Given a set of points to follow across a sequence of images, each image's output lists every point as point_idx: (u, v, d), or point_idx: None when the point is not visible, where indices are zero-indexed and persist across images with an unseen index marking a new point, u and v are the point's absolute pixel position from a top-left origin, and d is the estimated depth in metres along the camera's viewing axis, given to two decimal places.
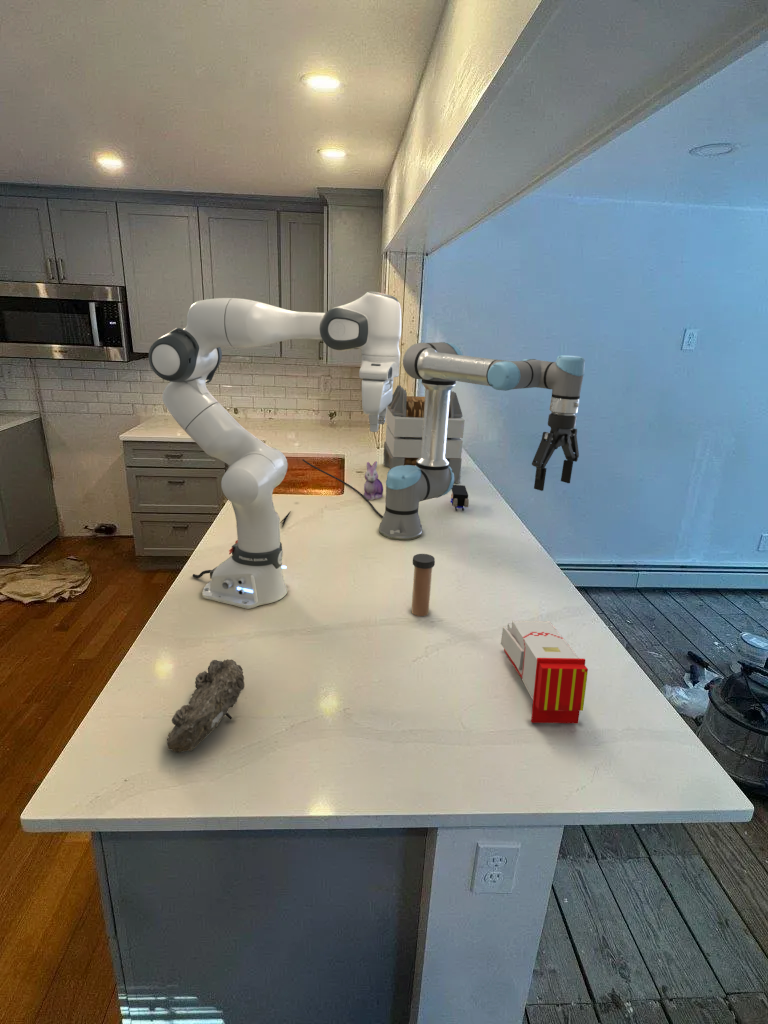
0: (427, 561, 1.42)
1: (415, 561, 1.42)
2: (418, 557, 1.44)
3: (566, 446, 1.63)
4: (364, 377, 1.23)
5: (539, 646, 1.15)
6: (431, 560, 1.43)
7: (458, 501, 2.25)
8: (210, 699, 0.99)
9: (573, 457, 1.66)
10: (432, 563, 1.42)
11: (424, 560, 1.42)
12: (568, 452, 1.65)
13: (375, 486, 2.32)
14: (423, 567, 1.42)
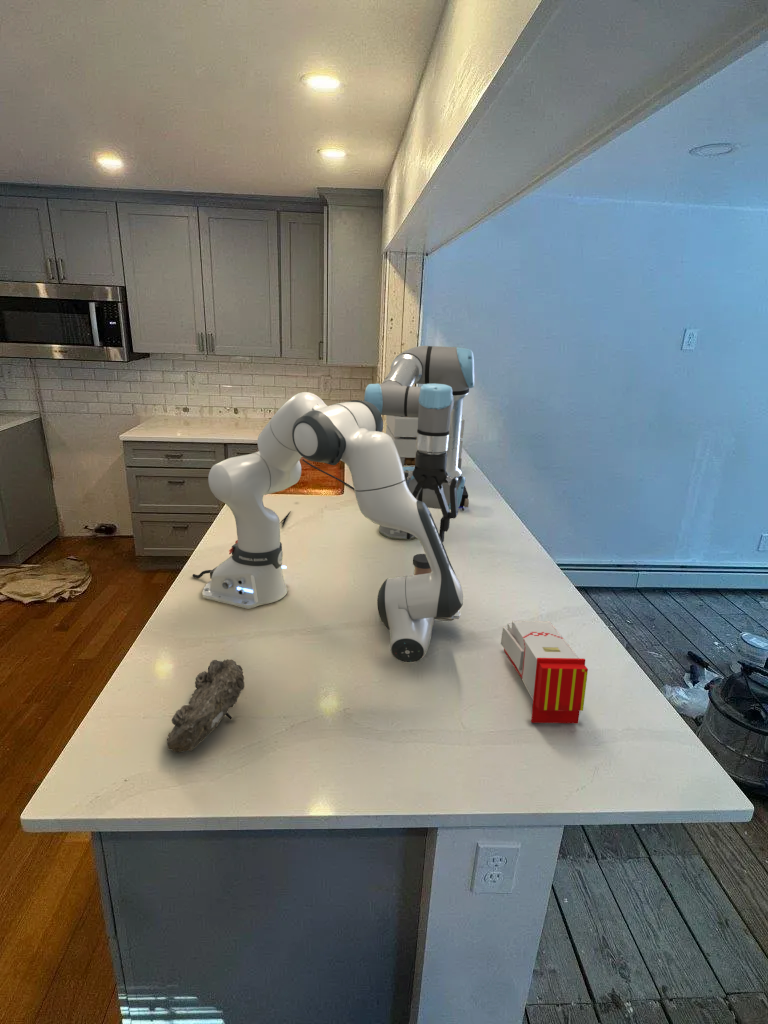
0: (427, 561, 1.42)
1: (415, 561, 1.42)
2: (418, 557, 1.44)
3: (420, 490, 1.39)
4: None
5: (539, 646, 1.15)
6: None
7: None
8: (210, 699, 0.99)
9: None
10: None
11: (424, 560, 1.42)
12: None
13: None
14: (423, 567, 1.42)
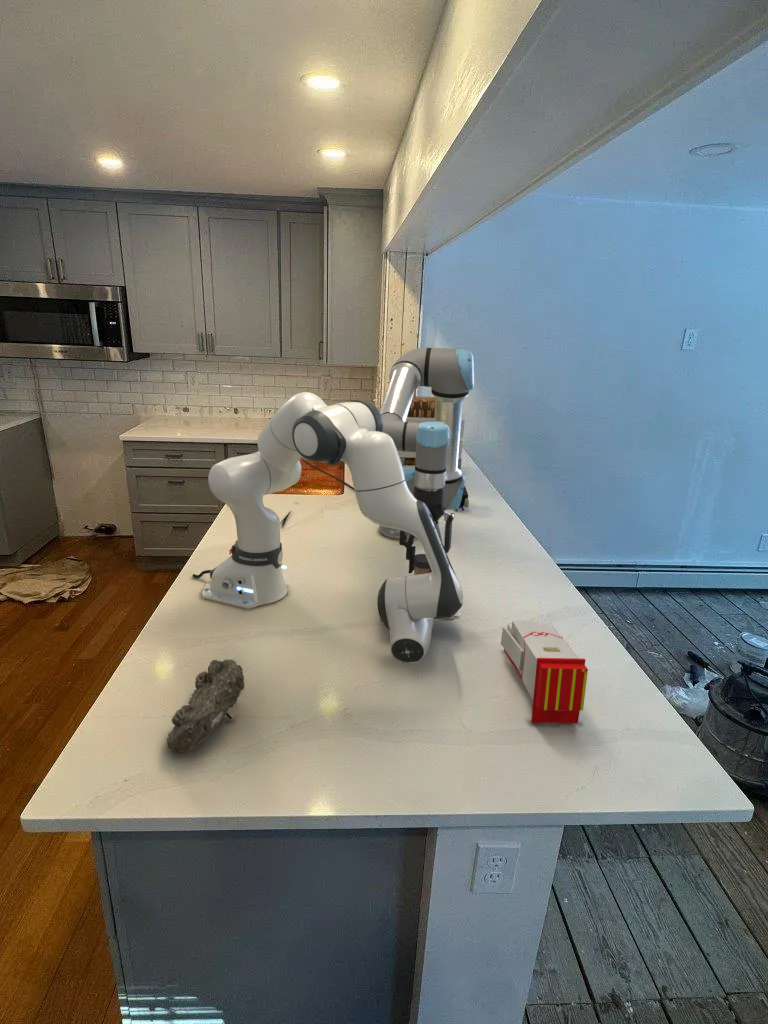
0: (427, 561, 1.42)
1: (415, 561, 1.42)
2: (418, 557, 1.44)
3: None
4: None
5: (539, 646, 1.15)
6: None
7: None
8: (210, 699, 0.99)
9: None
10: None
11: (424, 560, 1.42)
12: None
13: None
14: (423, 567, 1.42)
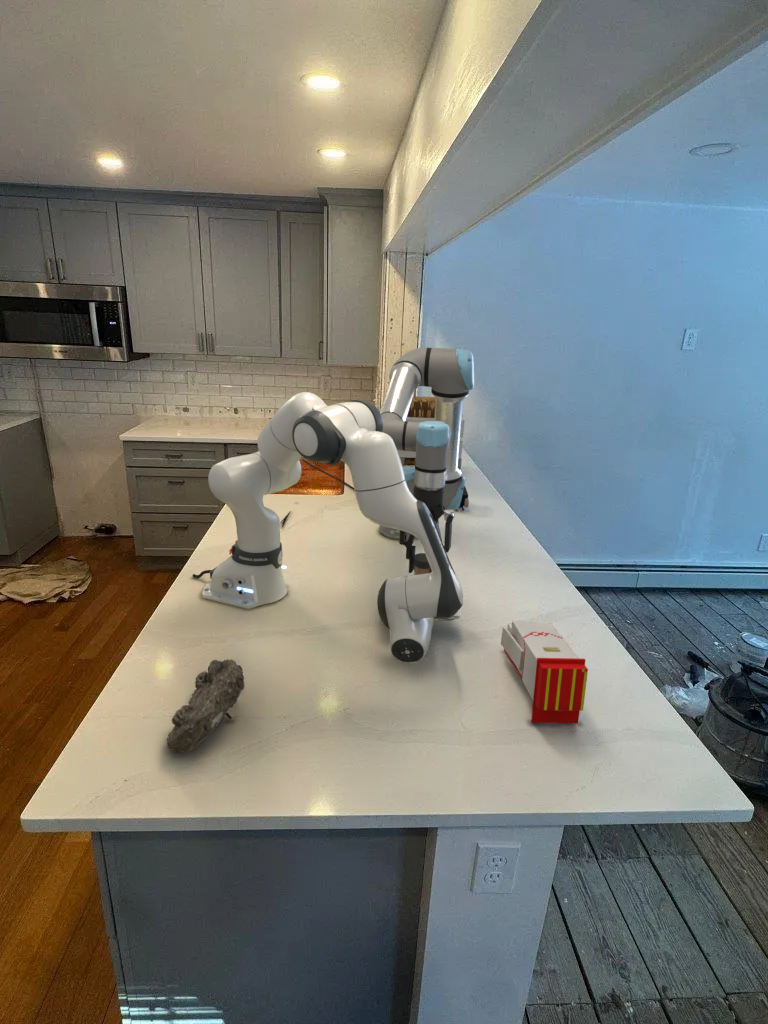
0: None
1: None
2: (426, 559, 1.43)
3: None
4: None
5: (539, 646, 1.15)
6: (424, 553, 1.46)
7: None
8: (210, 699, 0.99)
9: None
10: None
11: None
12: None
13: None
14: None
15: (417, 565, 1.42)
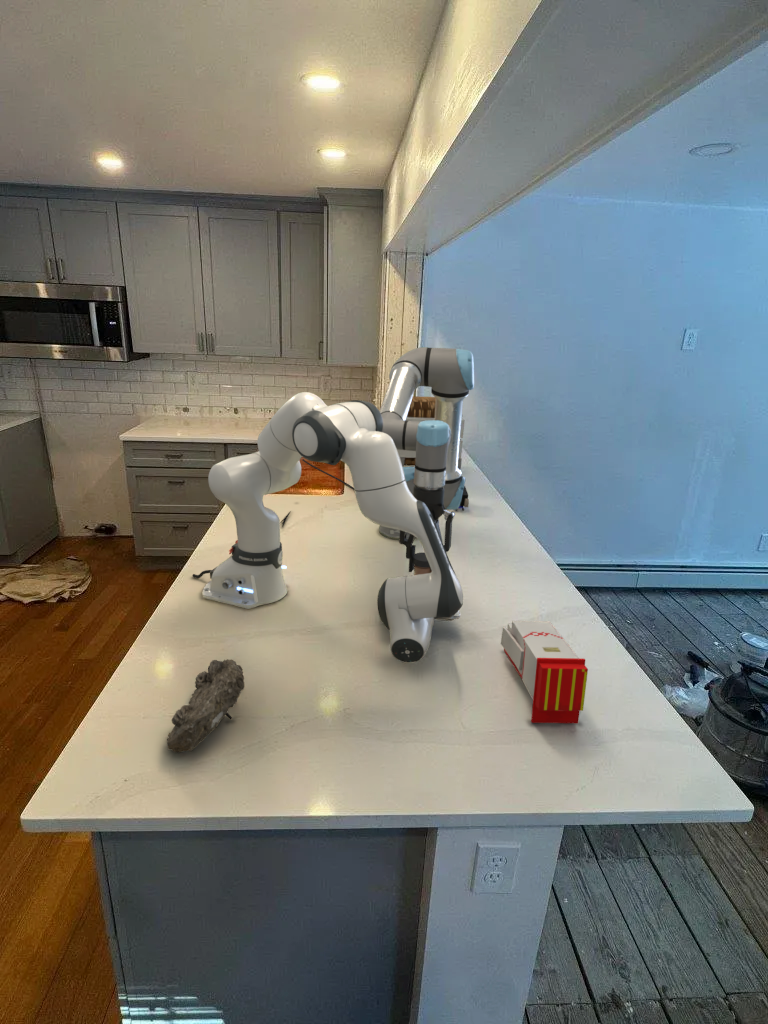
0: (415, 555, 1.44)
1: None
2: None
3: None
4: None
5: (539, 646, 1.15)
6: (415, 557, 1.43)
7: None
8: (210, 699, 0.99)
9: None
10: (413, 559, 1.43)
11: (419, 555, 1.44)
12: None
13: None
14: None
15: None
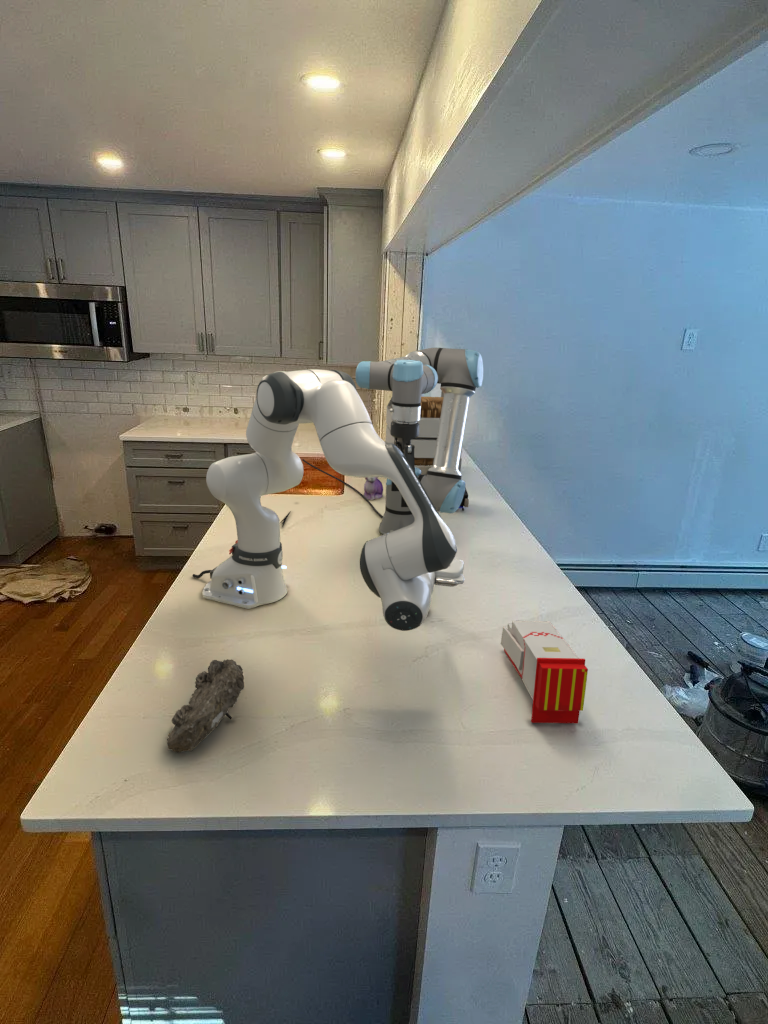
0: None
1: None
2: None
3: None
4: None
5: (539, 646, 1.15)
6: None
7: None
8: (210, 699, 0.99)
9: None
10: None
11: None
12: None
13: (375, 486, 2.32)
14: None
15: None
